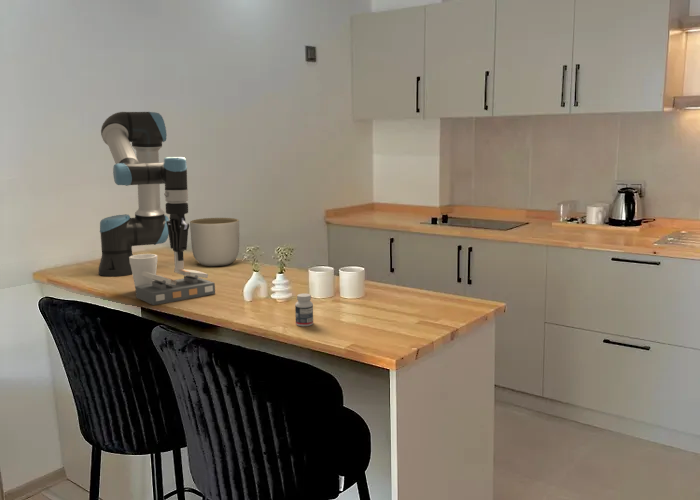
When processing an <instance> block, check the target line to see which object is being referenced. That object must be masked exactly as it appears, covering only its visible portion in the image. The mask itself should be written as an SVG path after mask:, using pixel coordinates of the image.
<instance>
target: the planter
mask: <svg viewBox="0 0 700 500" xmlns="http://www.w3.org/2000/svg"><path fill="white" fill-rule="evenodd" d="M189 230H190V242H191V251H192V256H193V257H194V259H195V261H196V262H197V263H198V264H200V265H201V266H206V267H223V266H228V265H231V264H233V262H234V261H236V259H237V258H238V256H239V253H240V219H238V218H232V217H208V218H207V217H206V218H205V217H204V218H196V219H192V220H190V221H189Z"/></svg>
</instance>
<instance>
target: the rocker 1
mask: <svg viewBox="0 0 700 500" xmlns="http://www.w3.org/2000/svg"><path fill="white" fill-rule="evenodd" d="M142 275H143V276H146V277H148V278H151V279H152V280H155V281H157V282H160V283H163V284H165V283H169V284H173V285H176V282H177V281H175V280H176V279H171V278H169V277H166V276H163V275H158V274H156V275H155V274H152V273H148V272H144V271H143V273H142Z"/></svg>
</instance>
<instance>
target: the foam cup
mask: <svg viewBox="0 0 700 500" xmlns="http://www.w3.org/2000/svg"><path fill="white" fill-rule="evenodd" d="M129 261H130V265H131V270H132V274H131V275H132V279H133V284H134V287H135V286H140V285H146V284H152V281H155V280H152V279H151V278H148V277H146V276H143V275H142V273H143V271H144V272H148V273H152V274H155V275H157V265H158V254H154V253H139V254H133V256H130V257H129Z"/></svg>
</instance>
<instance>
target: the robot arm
mask: <svg viewBox="0 0 700 500" xmlns="http://www.w3.org/2000/svg"><path fill="white" fill-rule="evenodd" d="M100 136H101V138H102V141H103V143H105V144H106V145H107V146H108V147H109V148H108V149H109V151H110V154H111V156H112V158H113V160H114V163H115V164H114V165H113V168H112V171H113V173H112V174H113V180H114V183H115V184H116V185H117V186H127V187H129V186H137V198H138V201H137V202H138V209H137V210H136V211H135V213H134V217H131V216H130V215H129V214H118V215H117V214H116V215H111V216H107V217H104V218H102V219H101V220H100V222H99V233H100V243H101V245H100V247H101V258H100V261H99V266H98V275H100V276H101V277H102V276H103V277H123V276H129V275H133V274H132V270H131V265H130V261H129V257H130V256H133V255H134V254H133V247H138V246H139V247H140V246H149V245H150V246H151V245H153V246H154V245H155V246H156V245H160V244H164V243H166V241H167V240H168V238H169V245H170V249H172V251H173V255H174V257H173V258H174V269H175V270H184V269H185V265H184V262H185V261H184V252H185V251H187V249H188V248H187V247H188V238H189V237H188V235H189V230H190V222H189V223H186V217H185V215H187V214H188V213H189V203H188V201H189V193H188V192H189V191H188V165H187V158H185V157H183V156H167V157H164V158H163V162H160V159H159V158H160V157H159V156H160V155H159V154H160V153H159V150H160V149H161V148H162V147H163V143H165V142H166V141H167V136H168V135H167V127H166V123H165V120H164V117H163V116H162V114H160V113H159V112H155V111H118V112H115V113H112V114H110V116H108V117H107V118H106V119H105V120H104V121H103V123H102V125H101V130H100ZM134 150H135V151H134ZM160 185H164V198H165V202H166V203H165V211H164V210H163V209H162V208H161V187H160ZM165 213H166V214H167V215H169V217H168V216H167V215H165Z"/></svg>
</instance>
